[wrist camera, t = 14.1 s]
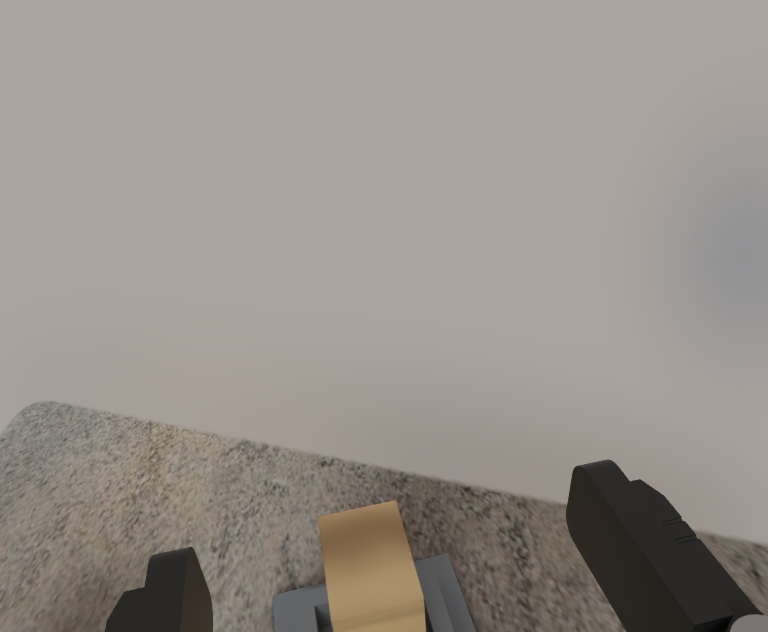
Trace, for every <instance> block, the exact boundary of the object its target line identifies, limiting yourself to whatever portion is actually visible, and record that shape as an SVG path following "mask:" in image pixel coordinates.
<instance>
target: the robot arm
mask: <svg viewBox="0 0 768 632" xmlns="http://www.w3.org/2000/svg"><path fill="white" fill-rule="evenodd" d="M566 520H567V525H568V529H569V532H570V535H571V537H572V540H573V542H574V543H575V545H576V547H577V548H578V550H579V552H580V554H581V555H582V557H583V559H584V560H585V562H586V564H587V565H588V567H589V569H590V570H591V572H592V574H593V575H594V577H595V579H596V581H597V582H598V584H599V586H600V587H601V589H602V591H603V592H604V594H605V596H606V597H607V599H608V601H609V602H610V604H611V606H612V608H613V609H614V611H615V613H616V614H617V616H618V618H619V619H620V621H621V623H622V624H623V626H624V628H625V629H626V631H627V632H768V616H765V615H764V614H763V613H761V612H760V611H759V610H758V609H757V608H756V607H755V605H754V604H753V603H752V602H751V601H750V600H749V598H748V597H747V596H746V595H745V594H744V592H743V591H742V590H741V589H740V588H739V586H738V585H737V584H736V583H735V581H734V580H733V579H732V578H731V577H730V575H729V574H728V573H727V572H726V570H725V569H724V568H723V567H722V566H721V564H720V563H719V562H718V561H717V560H716V558H715V557H714V556H713V555H712V553H711V552H710V551H709V550H708V549H707V547H706V546H705V545H704V544H703V543H702V541H701V540H700V539H697V538H696V534H695V533H694V532H693V530H692V529H691V528H690V527H689V525H688V524H687V523H686V522H685V521H682V519H681V516H680V515H679V513H678V512H677V511H676V510H675V508H674V507H673V506H672V505H671V504H670V502H669V501H668V500H667V499H666V498H665V496H664V495H662V494H661V493H659V492H658V491H656V490H655V489H654V488H652V487H651V486H649V485H648V484H646V483H645V482H643V481H642V480H640V479H639V480H635V481H629V480H628V478H627V477H626V476H625V475H624V473H623V472H622V471H621V469H620V468H619V467H618V466H617V465H616V464H615V463H614V462H613V461H611V460H603V461H598V462H594V463H589V464H584V465H580V466H576V467H575V468H574V470H573V473H572V479H571V486H570V492H569V498H568V504H567V510H566ZM105 632H213V611H212V602H211V596H210V592H209V589H208V587H207V584H206V581H205V578H204V575H203V573H202V570H201V567H200V564H199V562H198V559H197V556H196V553H195V551H194V549H193V548H192V547H188V548H183V549H179V550H174V551H169V552H165V553H160V554H155V555H152V556H151V558H150V560H149V564H148V569H147V576H146V582H145V587H143V588H139V589H134V590H130V591H125V592H124V593H123V595H122V596H121V598H120V600H119V602H118V603H117V605H116V607H115V608H114V610H113V612H112V613H111V615H110V617H109V618H108V620H107V624H106V628H105Z"/></svg>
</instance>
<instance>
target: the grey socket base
mask: <svg viewBox="0 0 768 632" xmlns="http://www.w3.org/2000/svg"><path fill="white" fill-rule="evenodd" d="M413 562H414V565H415V569H416V572H417V576H418V579H419V583H420V586H421V590H422V593H423V597H424V609H425V624H426V632H476V630H475V628H474V625H473V622H472V619H471V616H470V614H469V611H468V608H467V605H466V603H465V600H464V597H463V594H462V592H461V589H460V586H459V583H458V581H457V578H456V575H455V572H454V569H453V567H452V564H451V561H450V558H449V556H448V553H447V554H443V555H438V556H434V557H430V558H426V559H422V560H417V561H413ZM273 612H274V632H333V627H332V623H331V617H330V609H329V601H328V593H327V585H326V582H325V583H321V584H317V585H313V586H309V587H305V588H300V589H296V590H292V591H288V592H284V593H280V594H275V595H273Z"/></svg>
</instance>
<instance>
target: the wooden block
mask: <svg viewBox="0 0 768 632" xmlns="http://www.w3.org/2000/svg"><path fill="white" fill-rule="evenodd" d="M318 523H319V530H320V538H321V546H322V554H323V562H324V570H325V577H326V585H327V593H328V601H329V609H330V617H331V623H332V627H333V632H426V624H425V609H424V597H423V593H422V590H421V586H420V583H419V579H418V576H417V572H416V569H415V565H414V562H413V558H412V555H411V551H410V548H409V544H408V541H407V537H406V534H405V530H404V527H403V523H402V520H401V516H400V513H399V509H398V506H397V502H396V500H394V501H389V502H385V503H380V504H375V505H371V506H366V507H361V508H357V509H352V510H347V511H343V512H338V513H334V514H329V515H324V516H320V517H318Z"/></svg>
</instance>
